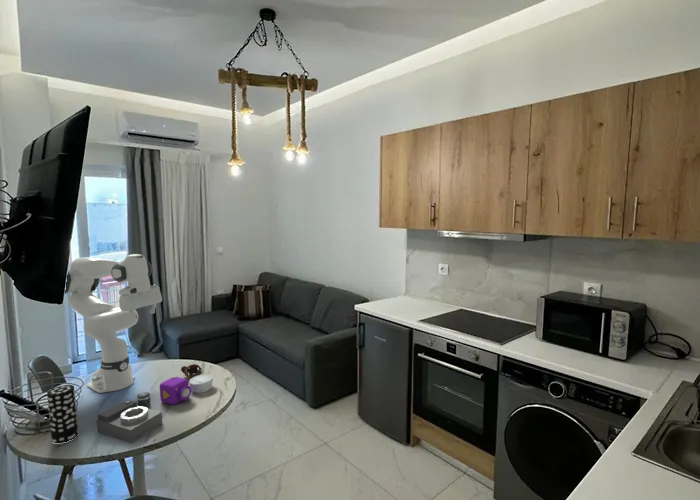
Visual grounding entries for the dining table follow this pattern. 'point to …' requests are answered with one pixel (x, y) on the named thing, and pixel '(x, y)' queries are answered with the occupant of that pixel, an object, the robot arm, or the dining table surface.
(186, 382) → the toy camera
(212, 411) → the dining table surface
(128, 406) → the camera body
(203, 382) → the ramekin
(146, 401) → the lens
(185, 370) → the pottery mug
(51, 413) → the spotted tube
